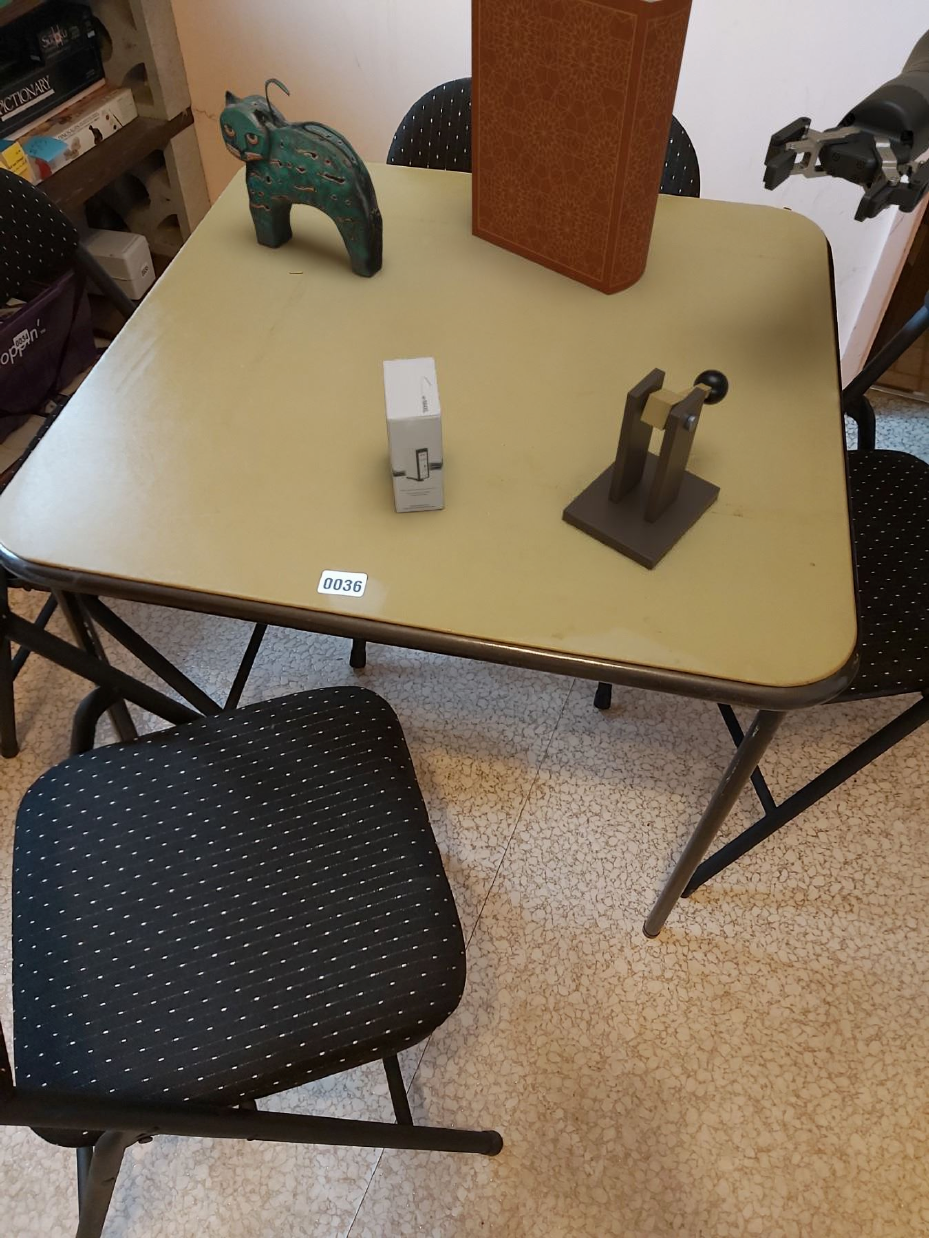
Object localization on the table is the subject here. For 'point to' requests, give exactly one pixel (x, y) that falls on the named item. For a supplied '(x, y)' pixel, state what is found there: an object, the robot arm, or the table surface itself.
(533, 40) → the book
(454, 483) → the table surface
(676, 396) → the lever
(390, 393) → the ink box
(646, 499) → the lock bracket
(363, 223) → the ceramic cat
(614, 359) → the table surface
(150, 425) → the table surface
